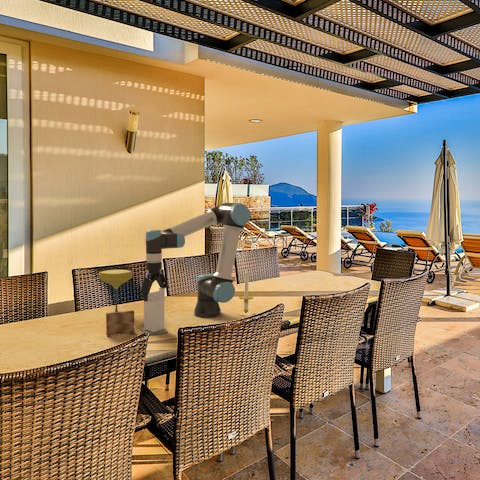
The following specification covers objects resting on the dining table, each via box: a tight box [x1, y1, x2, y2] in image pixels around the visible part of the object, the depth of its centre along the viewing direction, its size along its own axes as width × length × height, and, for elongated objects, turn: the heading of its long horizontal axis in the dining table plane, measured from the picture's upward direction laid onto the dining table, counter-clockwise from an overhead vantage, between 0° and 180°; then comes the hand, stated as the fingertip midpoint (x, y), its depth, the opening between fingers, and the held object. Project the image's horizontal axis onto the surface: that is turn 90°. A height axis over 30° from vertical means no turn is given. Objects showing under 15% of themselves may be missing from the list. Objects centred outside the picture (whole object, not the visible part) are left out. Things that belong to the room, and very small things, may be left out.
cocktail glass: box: [98, 267, 134, 312], centre depth 233 cm, size 18×18×25 cm
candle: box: [238, 268, 255, 313], centre depth 240 cm, size 10×10×27 cm
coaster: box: [140, 326, 169, 336], centre depth 207 cm, size 11×11×1 cm
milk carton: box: [143, 290, 165, 332], centre depth 206 cm, size 7×7×19 cm
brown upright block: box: [105, 309, 136, 338], centre depth 201 cm, size 13×5×11 cm, turn 114°
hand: (154, 304), depth 206 cm, fingers open, 13 cm apart
